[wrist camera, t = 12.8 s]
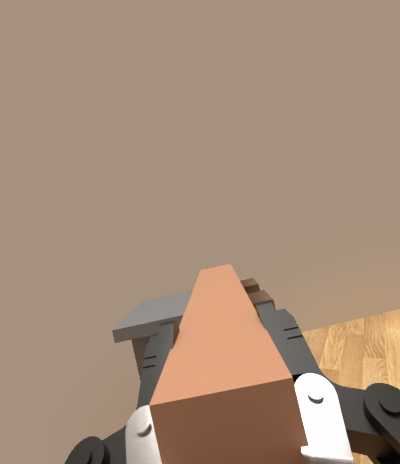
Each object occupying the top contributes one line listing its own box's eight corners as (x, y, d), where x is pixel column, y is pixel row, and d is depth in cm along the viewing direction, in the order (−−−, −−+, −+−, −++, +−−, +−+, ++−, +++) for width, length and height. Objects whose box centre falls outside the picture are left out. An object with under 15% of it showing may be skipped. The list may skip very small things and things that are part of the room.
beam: (319, 489, 7) (292, 377, 7) (173, 513, 7) (148, 405, 7) (235, 286, 33) (230, 263, 33) (205, 292, 33) (200, 270, 33)
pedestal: (157, 533, 38) (112, 330, 39) (173, 444, 54) (140, 301, 55) (233, 519, 38) (186, 314, 38) (226, 434, 54) (193, 290, 54)
